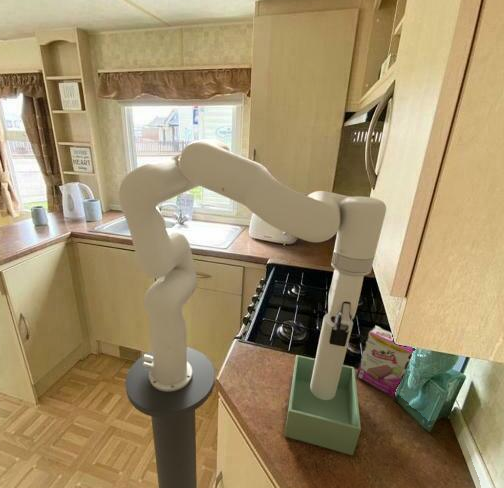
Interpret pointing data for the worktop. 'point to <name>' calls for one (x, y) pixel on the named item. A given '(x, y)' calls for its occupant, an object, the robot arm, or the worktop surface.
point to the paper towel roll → (328, 361)
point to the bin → (323, 410)
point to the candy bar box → (383, 361)
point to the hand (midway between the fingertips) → (336, 331)
